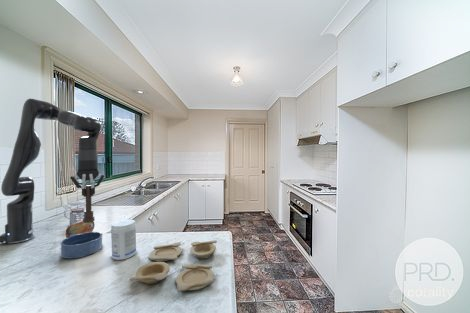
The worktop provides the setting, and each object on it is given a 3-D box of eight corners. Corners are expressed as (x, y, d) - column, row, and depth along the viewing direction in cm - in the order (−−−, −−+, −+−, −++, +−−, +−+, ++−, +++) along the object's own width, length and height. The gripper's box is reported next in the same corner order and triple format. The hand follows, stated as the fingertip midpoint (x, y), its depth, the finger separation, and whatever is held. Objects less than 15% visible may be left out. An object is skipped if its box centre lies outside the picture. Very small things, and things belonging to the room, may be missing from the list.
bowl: (56, 262, 83) (56, 248, 83) (65, 248, 97) (65, 235, 97) (100, 254, 91) (100, 240, 91) (103, 241, 104) (103, 229, 104)
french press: (90, 223, 130) (89, 185, 130) (67, 229, 121) (67, 188, 120) (83, 221, 136) (82, 184, 135) (61, 226, 126) (61, 186, 126)
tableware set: (156, 246, 98) (156, 238, 98) (217, 245, 99) (217, 236, 99) (119, 298, 63) (119, 285, 63) (213, 294, 64) (213, 281, 64)
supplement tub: (136, 248, 96) (136, 217, 96) (136, 257, 87) (135, 224, 87) (112, 252, 92) (112, 220, 92) (110, 262, 83) (109, 227, 83)
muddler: (82, 223, 92) (81, 186, 92) (83, 220, 96) (83, 185, 95) (93, 221, 94) (93, 185, 94) (95, 219, 98) (94, 184, 98)
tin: (69, 242, 102) (68, 226, 102) (64, 242, 103) (63, 225, 103) (95, 231, 117) (94, 217, 117) (90, 231, 118) (90, 216, 118)
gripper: (106, 159, 101) (106, 193, 101) (71, 159, 94) (71, 196, 95) (104, 159, 94) (105, 196, 95) (67, 159, 88) (67, 199, 88)
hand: (88, 195), depth 95 cm, fingers closed on muddler, 2 cm apart
